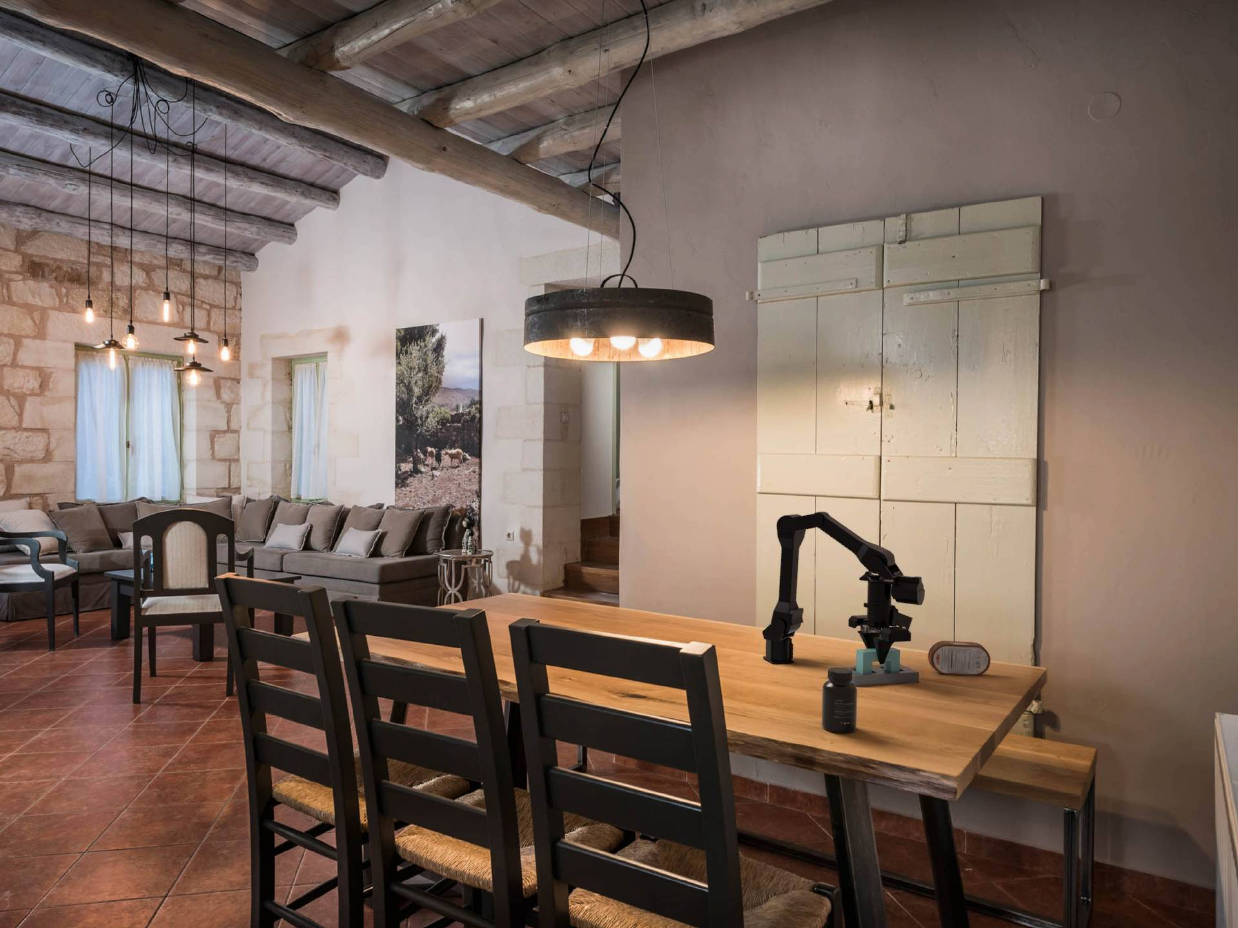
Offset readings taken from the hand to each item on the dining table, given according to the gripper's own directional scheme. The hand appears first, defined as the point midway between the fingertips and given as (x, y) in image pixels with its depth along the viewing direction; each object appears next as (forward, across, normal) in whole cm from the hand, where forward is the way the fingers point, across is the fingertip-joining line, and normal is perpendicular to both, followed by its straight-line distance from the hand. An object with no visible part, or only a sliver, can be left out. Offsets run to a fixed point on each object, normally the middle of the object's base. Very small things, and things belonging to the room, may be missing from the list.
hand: (877, 662), depth 199 cm
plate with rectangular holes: (+4, 0, 0) cm, 4 cm away
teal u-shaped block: (+3, 0, 0) cm, 3 cm away
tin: (+5, 0, -24) cm, 24 cm away
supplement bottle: (+4, -30, +29) cm, 42 cm away
